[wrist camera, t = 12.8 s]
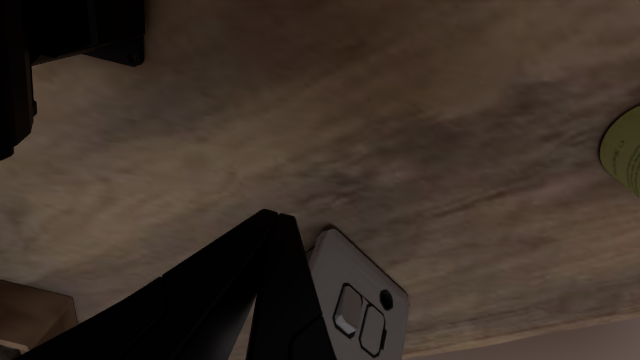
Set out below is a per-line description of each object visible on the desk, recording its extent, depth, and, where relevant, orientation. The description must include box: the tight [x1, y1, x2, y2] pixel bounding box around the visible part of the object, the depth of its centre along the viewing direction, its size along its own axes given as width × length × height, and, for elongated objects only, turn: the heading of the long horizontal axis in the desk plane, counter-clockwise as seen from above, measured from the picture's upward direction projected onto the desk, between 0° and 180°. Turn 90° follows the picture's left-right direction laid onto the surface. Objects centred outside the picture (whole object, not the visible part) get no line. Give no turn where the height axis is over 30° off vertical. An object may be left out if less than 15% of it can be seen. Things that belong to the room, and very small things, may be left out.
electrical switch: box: [305, 229, 410, 360], centre depth 24 cm, size 9×5×9 cm, turn 44°
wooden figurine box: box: [0, 280, 78, 355], centre depth 34 cm, size 9×15×5 cm, turn 167°
